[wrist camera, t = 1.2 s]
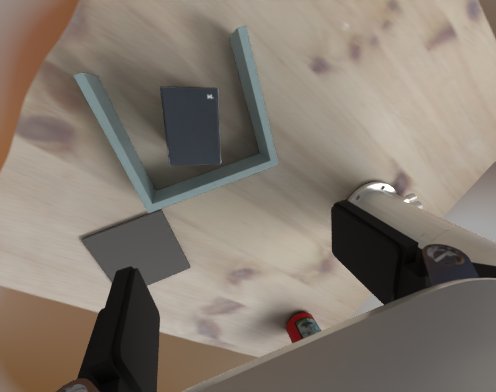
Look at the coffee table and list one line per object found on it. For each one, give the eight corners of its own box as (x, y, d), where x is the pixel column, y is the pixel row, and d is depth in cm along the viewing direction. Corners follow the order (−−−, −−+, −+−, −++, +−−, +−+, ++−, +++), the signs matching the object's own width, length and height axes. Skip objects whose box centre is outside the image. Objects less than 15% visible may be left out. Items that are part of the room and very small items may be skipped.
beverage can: (316, 312, 56) (349, 363, 45) (301, 333, 58) (329, 387, 47) (294, 307, 53) (323, 359, 43) (279, 329, 55) (303, 385, 44)
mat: (161, 209, 37) (160, 210, 37) (190, 265, 42) (190, 267, 42) (82, 238, 36) (81, 240, 35) (122, 293, 41) (122, 295, 40)
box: (165, 88, 31) (159, 85, 22) (208, 90, 33) (220, 86, 23) (171, 148, 34) (168, 168, 25) (211, 147, 36) (222, 165, 26)
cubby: (236, 35, 31) (245, 25, 27) (267, 157, 39) (278, 164, 34) (89, 78, 29) (73, 75, 24) (152, 199, 36) (148, 213, 32)
